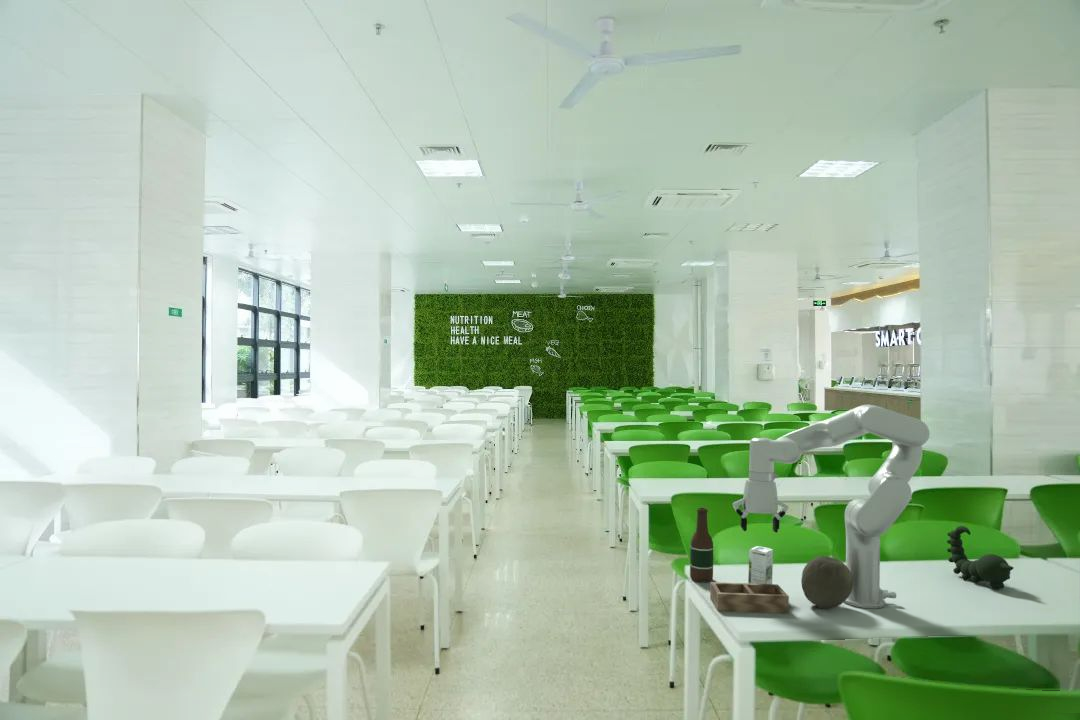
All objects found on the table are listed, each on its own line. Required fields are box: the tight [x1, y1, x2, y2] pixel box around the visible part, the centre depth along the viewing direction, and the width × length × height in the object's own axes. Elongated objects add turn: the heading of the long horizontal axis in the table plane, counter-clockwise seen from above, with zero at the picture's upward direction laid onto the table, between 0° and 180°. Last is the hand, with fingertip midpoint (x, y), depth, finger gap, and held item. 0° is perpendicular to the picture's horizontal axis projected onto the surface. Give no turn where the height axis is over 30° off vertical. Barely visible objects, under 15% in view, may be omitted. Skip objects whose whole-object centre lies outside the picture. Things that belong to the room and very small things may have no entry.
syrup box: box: [747, 545, 774, 584], centre depth 215 cm, size 6×6×14 cm
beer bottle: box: [689, 507, 714, 583], centre depth 230 cm, size 8×8×24 cm
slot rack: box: [709, 581, 790, 614], centre depth 205 cm, size 21×11×5 cm, turn 87°
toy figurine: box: [946, 525, 1015, 591], centre depth 231 cm, size 9×19×25 cm
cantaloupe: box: [800, 555, 853, 610], centre depth 204 cm, size 14×14×15 cm
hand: (759, 530), depth 215 cm, fingers open, 9 cm apart
